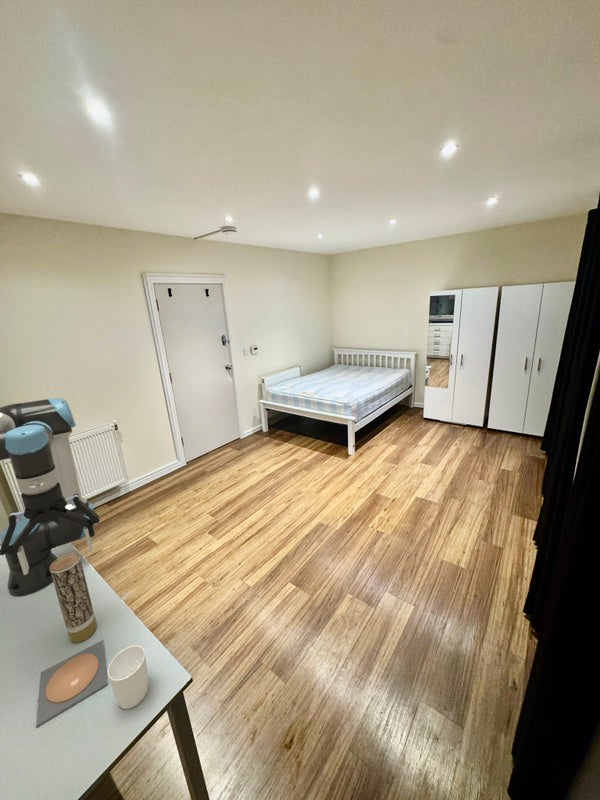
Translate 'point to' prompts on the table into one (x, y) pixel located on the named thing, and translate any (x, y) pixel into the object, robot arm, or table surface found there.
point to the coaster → (71, 682)
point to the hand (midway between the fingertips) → (60, 558)
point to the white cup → (129, 676)
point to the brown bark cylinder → (73, 597)
